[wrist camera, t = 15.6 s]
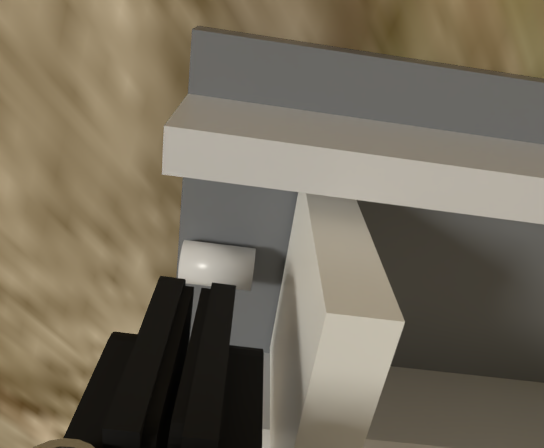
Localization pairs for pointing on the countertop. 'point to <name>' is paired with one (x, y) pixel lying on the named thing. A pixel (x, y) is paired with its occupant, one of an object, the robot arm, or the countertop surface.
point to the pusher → (330, 329)
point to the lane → (378, 216)
